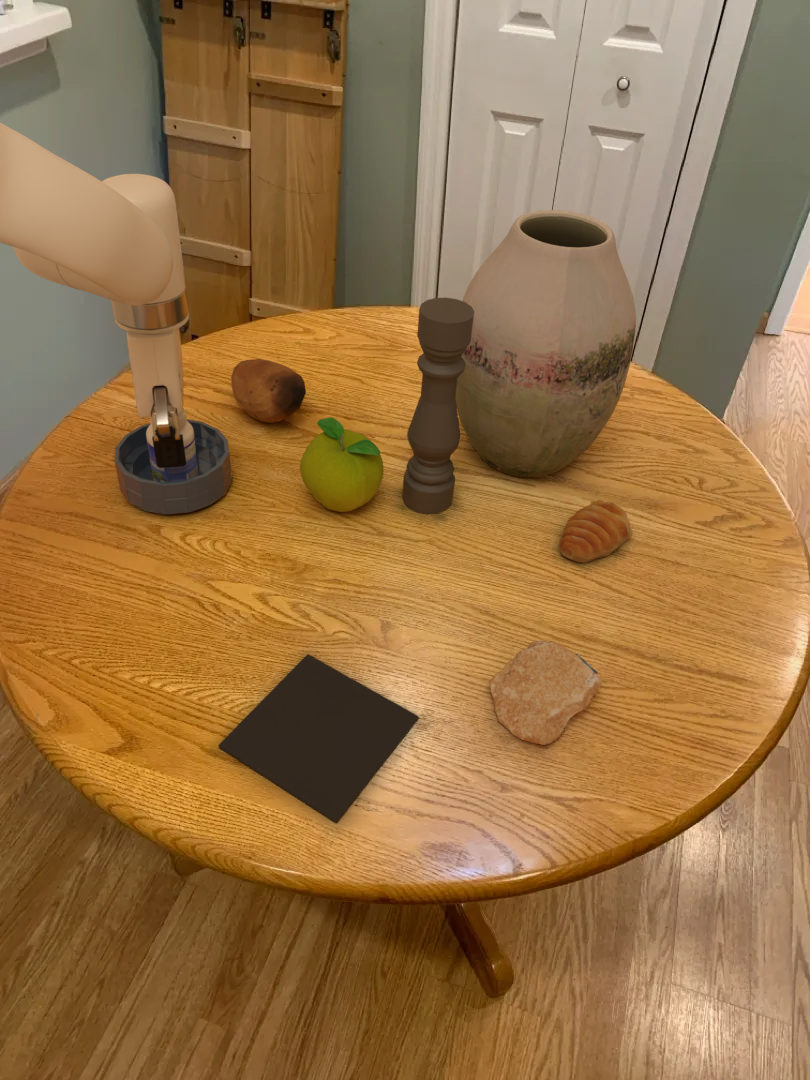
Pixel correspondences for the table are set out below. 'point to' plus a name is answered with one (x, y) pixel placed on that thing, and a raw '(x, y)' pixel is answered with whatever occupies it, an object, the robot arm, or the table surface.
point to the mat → (320, 736)
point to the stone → (542, 691)
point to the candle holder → (437, 404)
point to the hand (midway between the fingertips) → (171, 442)
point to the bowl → (174, 494)
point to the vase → (545, 343)
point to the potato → (267, 389)
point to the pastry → (595, 532)
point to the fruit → (341, 467)
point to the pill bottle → (189, 447)
